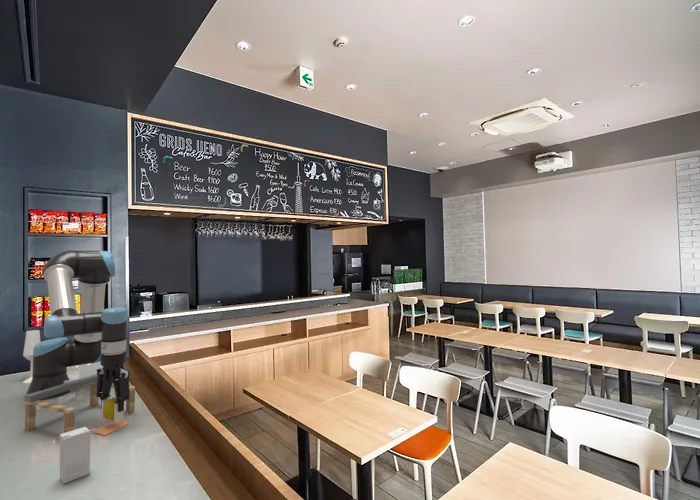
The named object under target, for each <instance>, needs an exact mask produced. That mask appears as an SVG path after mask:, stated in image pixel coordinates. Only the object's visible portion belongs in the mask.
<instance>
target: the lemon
mask: <svg viewBox="0 0 700 500" xmlns="http://www.w3.org/2000/svg"><path fill="white" fill-rule="evenodd" d="M115 402H117V401H116V397H112V398H111V399H109V400H108V401H107V402H106V403H105V405H104V408H103V414H104V416H105V419H106V420H107V419H108V420H110V421H114V408H115Z"/></svg>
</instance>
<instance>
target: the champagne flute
mask: <svg viewBox="0 0 700 500" xmlns="http://www.w3.org/2000/svg"><path fill="white" fill-rule="evenodd" d="M40 333H41V332H40V329H32V330H31V329H30V330H26V333H25V339H24V345H23V346H24V347H23V351H22V352H23V354H22V357H24V359H26V360H27V361H30V367H29V368H30V369H29V373H30V374H29V377H27V378H26V379H25V380H23V381H22V383H23V384H30V383H31V381H32V376H33V356H32V355H33V350H34V346H35V345H36V344H38V343H40V342H41V334H40Z"/></svg>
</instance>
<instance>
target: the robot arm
mask: <svg viewBox="0 0 700 500" xmlns="http://www.w3.org/2000/svg"><path fill="white" fill-rule="evenodd" d="M115 265H116V264H115V258H114V256H113V254H112V252H110V251H108V250H100V249H99V250H74V249H71V250H70V249H69V250H64V251H62V252H58V253H56V254H55V255H53V256H52V257H51V258H50V259H49V260H48V261H47V262H46V264H45V265H44V268H43V279H44V280H45V281H46V282H47V289H48V291H47V292H48V300H49V301H48V302H49V310H50V311H49V312H50V315H47V316H45V318H44V323H43V324H44V325H43V334H44V337H45V338H47V339H46V340H42V341H40V343H38V344H36V345H35V346H34V350H33V355H32V356H33V376H32V381H31V383H29V386H28V388H27V391H26V395H27V394H31V393H34V392H38V391H41V390H44V389H48V388H51V387H55V386H58V385H61V384H64V381H66V380H70V378H69V375H68V370H67V369H68V368H69V367H76V366H83V365H89V364H95V363H96V364H97V363H100V366H101V368H98V369H96V374H97V395H96V396H97V397H98V398H99V399H100V400H101V401H100V403H101V404H100V408H101V417H100V419H101V420H105V419H106V418H105V416H104V414H103V408H104V405H105V403H106V402H107V401H108V400H109V399H112V398H111V395H110V393H111V389H112V387H111V386H112V383H113V384H114V388H113V389H114V394H115V398H116V401H117V402H115V408H114V420H113V421H114V422H118V421H120V420H124V410H125V402H126V400H128V399H129V385H130V376H131V371H130V370H127V371H126V370H125V367H124V364H125V363H126V362H127V352H126V350H127V328H128V326H127V323H128V313H127V311H128V310H127V309H126V308H124V307H111V308H109V307H108V308H105V309H104V306H105V295H106V285H107V284H108V283H110V282H111V278H113V277H115V276H116V266H115ZM74 278H78V279H77V280H78V281H77V282H79V283H80V284H81V298H80V309H79V310H80V312H79V313H78V310H77V309H78V308H77V303H76V297H75V290H74V285H73V279H74ZM73 336H74V337H73ZM67 337H73V339H70V340H69V339H68V338H67ZM48 338H49V339H48ZM71 391H72V389H71V390H68V391H65V392H62V393H59V394H55V395H52V396H49V397H46V398H43V399H39V400H40V401H44V400H49V399H53V398H57V397H58V398H59V397H61V396H64V395H66V394H68V393H70V392H71Z"/></svg>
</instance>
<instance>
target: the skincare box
mask: <svg viewBox="0 0 700 500" xmlns="http://www.w3.org/2000/svg"><path fill="white" fill-rule="evenodd" d="M90 436H91V431H90V429H88V427H86V426H83V427H80V428H76V429H74V430H73V431H69V432H66V433H64V432H63V433H60V434H59V479H60V481H61V483H62V484H66V483H70V482H72V481H74V480H77V479H80V478H82V477H85V476H87V475H90V473H91V472H90V470H91V469H90V467H91V466H90V464H91V453H90V452H91V437H90Z"/></svg>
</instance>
